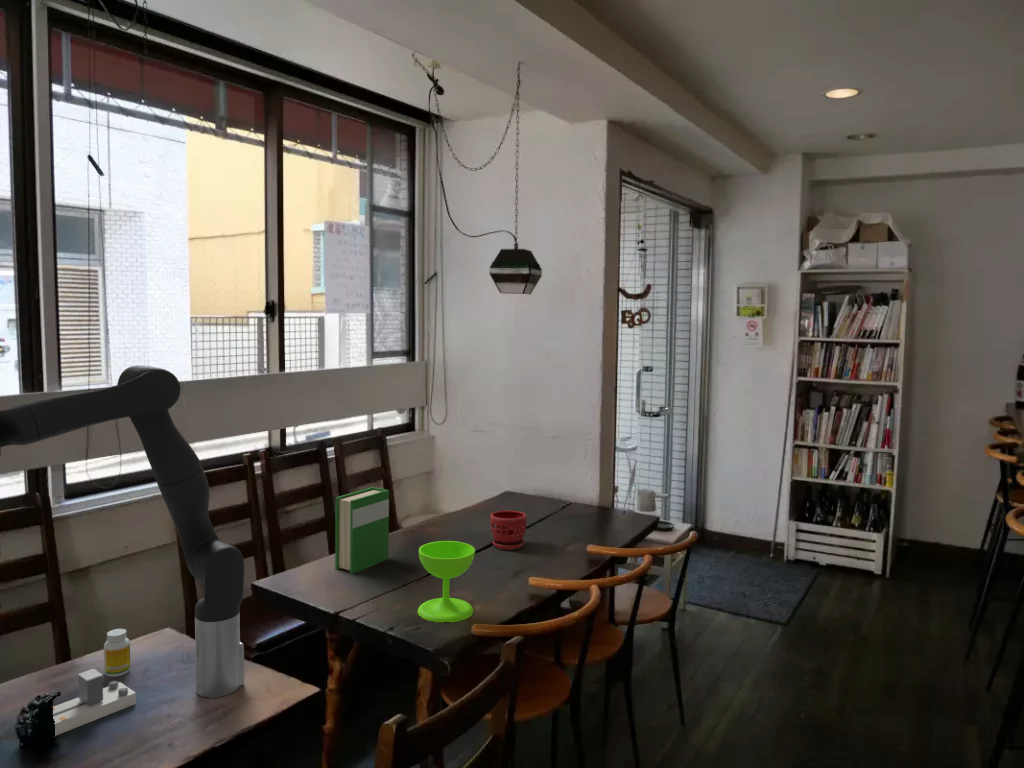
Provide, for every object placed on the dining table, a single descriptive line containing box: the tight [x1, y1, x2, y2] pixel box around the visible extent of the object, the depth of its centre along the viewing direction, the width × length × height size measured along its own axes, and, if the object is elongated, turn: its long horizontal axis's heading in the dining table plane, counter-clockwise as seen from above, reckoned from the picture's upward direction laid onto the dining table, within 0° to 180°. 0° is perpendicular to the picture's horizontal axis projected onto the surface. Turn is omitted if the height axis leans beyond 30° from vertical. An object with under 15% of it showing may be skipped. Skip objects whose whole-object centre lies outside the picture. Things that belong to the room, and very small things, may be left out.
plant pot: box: [489, 510, 527, 551], centre depth 273 cm, size 13×13×12 cm
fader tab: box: [78, 668, 104, 706], centre depth 156 cm, size 3×4×6 cm
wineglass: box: [417, 540, 476, 624], centre depth 213 cm, size 16×16×18 cm
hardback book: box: [334, 486, 390, 575], centre depth 249 cm, size 18×7×24 cm, turn 149°
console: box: [52, 680, 137, 737], centre depth 156 cm, size 16×7×4 cm, turn 142°
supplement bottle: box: [103, 628, 131, 678], centre depth 173 cm, size 5×5×10 cm
